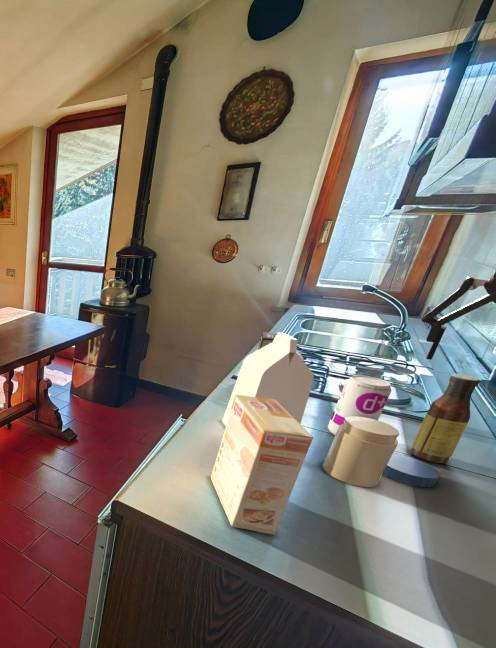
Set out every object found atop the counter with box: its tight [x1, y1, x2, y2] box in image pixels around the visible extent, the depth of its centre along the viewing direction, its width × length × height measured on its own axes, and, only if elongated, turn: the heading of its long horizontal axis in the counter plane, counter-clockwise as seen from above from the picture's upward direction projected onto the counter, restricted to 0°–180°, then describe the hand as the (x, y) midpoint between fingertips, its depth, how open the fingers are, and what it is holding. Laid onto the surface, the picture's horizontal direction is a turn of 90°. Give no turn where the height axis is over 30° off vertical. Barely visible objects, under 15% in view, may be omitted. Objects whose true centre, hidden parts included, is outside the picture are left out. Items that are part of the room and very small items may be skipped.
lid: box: [382, 452, 440, 488], centre depth 84 cm, size 10×10×2 cm
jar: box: [322, 416, 400, 488], centre depth 81 cm, size 9×9×12 cm
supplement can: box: [327, 374, 392, 436], centre depth 97 cm, size 8×8×15 cm
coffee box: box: [257, 331, 277, 350], centre depth 129 cm, size 9×6×16 cm
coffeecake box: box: [210, 395, 314, 536], centre depth 70 cm, size 15×7×20 cm, turn 164°
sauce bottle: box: [410, 373, 481, 464], centre depth 87 cm, size 6×6×20 cm
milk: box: [221, 331, 315, 427], centre depth 94 cm, size 12×12×26 cm
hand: (479, 366), depth 76 cm, fingers open, 13 cm apart
